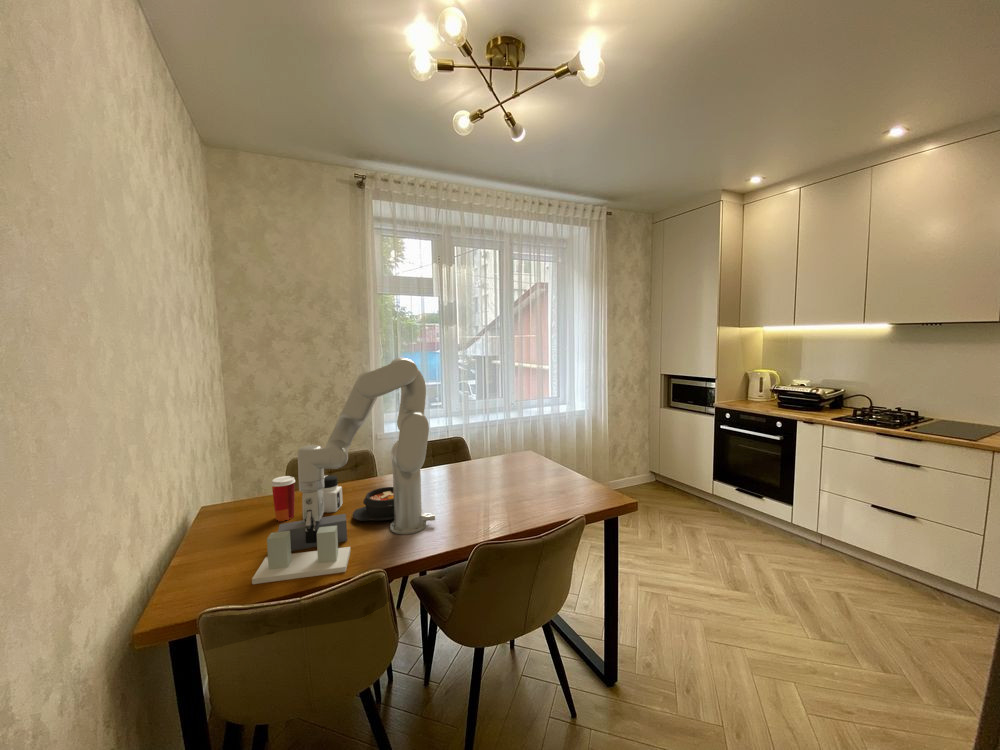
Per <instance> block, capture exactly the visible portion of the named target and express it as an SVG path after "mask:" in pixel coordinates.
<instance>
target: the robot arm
mask: <svg viewBox="0 0 1000 750" xmlns="http://www.w3.org/2000/svg"><path fill="white" fill-rule="evenodd" d="M398 389H400V392H401V393H400V403H399V410H398V416H397V421H396V426H397V429H398V430H399V432H398V434H399V435H398V440H397V441H395V443H394V444H393V446H392V448H391V453H390V454H391V455H390V456H391V468H392V484H393V485H392V487H393V495H394V519H393V521H392V522H391V523H390V525H389V529H390V531H391V533H394V534H396V535H397V534H398V535H412V534H416V533H419V532H421V531H423V530H424V529H425V528H426V527H427V522H429V521H431V522H432V521H436V515H435V514H432V513H430V512H428V513H424V512H423V509H422V476H421V475H422V474H421V473H422V472H421V468H422V467H423V466H424V464H425V461H426V455H427V449H428V448H427V447H428V440H429V432H430V428H429V427H430V425H429V424H430V423H429V421H428V420H429V419H428V418H427V417H426V416H425V407H426V398H427V387H426V381H425V378H424V376H423V374H422V372H421V370H420V369H419V367H418V366H417V364H416V362H414V361H413V360H412V359H409V358H406V357H401V356H400V357H397V358H396V357H395V359H393V360H392V361H391V362H390V363H389V364H387V365H384V366H381V367H380V368H377V369H375V370H374V369H373V370H366V371H365V370H364V371H363V372H361V373H360V374H359V375H358V376H357V378H356V380H355V382H354V385H353V386H352V388H351V391H350V392H349V394H348V397H347V399H346V401H345V404H344V406H343V408H342V409H341V412H340V414H339V417H338V419H337V422H336V424H335V425H334V427H333V430H332V432H331V433H330V436H329V438H328V441H327V442H326V444H325V447H322V446H320V445H317V444H310V445H309V444H307V445H305V446H301V447H300V448H299V449H298V451H297V465H298V466H297V469H298V470H297V471H298V490H299V492H301V493H302V497H301V498H302V499H301V500H302V507H301V508H302V520H303V521H304V522H305V523H306V543H316V542H317V530H316V521H320V519H321V517H323V516H324V513H325V512H324V498H323V488H324V476H325V470H327V469H328V470H329V469H330V470H336V469H340V468H343V467H344V466H345V465H346V464H347V463H348V460H349V449H350V447H351V445H352V442H354V441H353V440H354V438H355V437H356V434H357V433H358V432H359V430H360V428H361V427H363V425H365V423H366V422H367V421H368V418H369V416H370V414H371V412H372V409H373V408H374V405H375V403H376V401H377V399H378V397H381V396H384V395H387V394H389V393H391V392H393V391H396V390H398ZM311 519H314V521H311ZM311 523H313V525H311Z"/></svg>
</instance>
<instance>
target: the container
mask: <svg viewBox="0 0 1000 750" xmlns="http://www.w3.org/2000/svg"><path fill="white" fill-rule="evenodd" d="M323 498H324V513H336V512H337V511H338V510H339V509H341V507H342V506H343V505H342V504H344V502H343V486H341V485H340V486H339V485H338V476H337V475H333V474H328V475H324V488H323Z"/></svg>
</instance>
